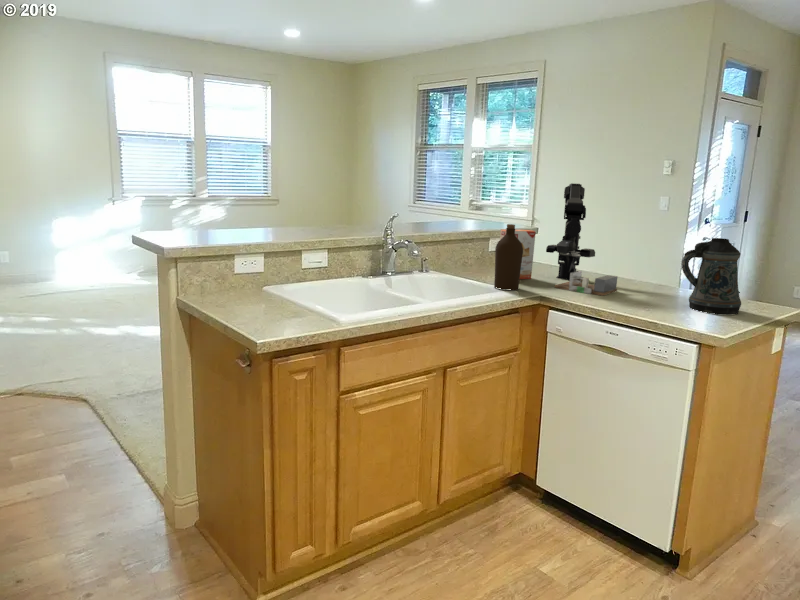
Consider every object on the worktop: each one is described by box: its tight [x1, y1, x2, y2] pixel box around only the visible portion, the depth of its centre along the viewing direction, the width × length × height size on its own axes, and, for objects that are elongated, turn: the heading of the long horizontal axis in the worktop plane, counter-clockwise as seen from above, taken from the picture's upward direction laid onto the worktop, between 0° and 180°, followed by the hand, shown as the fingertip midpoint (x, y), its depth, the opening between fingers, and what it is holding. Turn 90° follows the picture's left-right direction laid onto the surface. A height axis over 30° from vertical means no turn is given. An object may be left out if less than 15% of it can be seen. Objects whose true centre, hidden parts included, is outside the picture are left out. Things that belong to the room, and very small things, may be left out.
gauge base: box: [554, 280, 618, 296], centre depth 242 cm, size 20×15×2 cm
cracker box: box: [499, 228, 537, 280], centre depth 260 cm, size 14×6×21 cm, turn 107°
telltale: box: [581, 277, 590, 288], centre depth 236 cm, size 2×2×4 cm
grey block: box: [568, 270, 587, 285], centre depth 243 cm, size 5×10×5 cm, turn 139°
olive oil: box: [493, 223, 523, 291], centre depth 236 cm, size 11×11×25 cm
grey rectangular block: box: [594, 274, 618, 293], centre depth 237 cm, size 4×12×5 cm, turn 139°
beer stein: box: [681, 237, 742, 315], centre depth 211 cm, size 16×19×25 cm
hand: (568, 272), depth 246 cm, fingers closed
